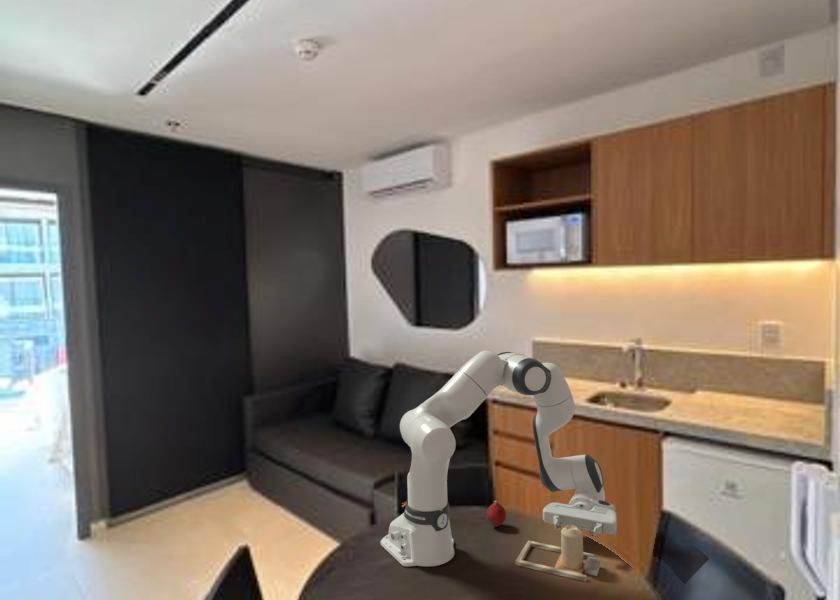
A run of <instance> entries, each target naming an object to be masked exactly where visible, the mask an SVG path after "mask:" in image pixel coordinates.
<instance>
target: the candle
mask: <svg viewBox="0 0 840 600" xmlns="http://www.w3.org/2000/svg"><path fill="white" fill-rule="evenodd" d="M560 530H561V531H560V542H561V543H560V545H561V546H560V547H561V553H560V555H561V554H562V565H563V566H564V567H566V568H568V569H572V570H578V569H581V568H582V567H583V559H584V558H583V552H584V536H583V535H584V533H583V532H582V531H581V530H582V529H578V528H577V527H576V526H574V525H567V526H564V528H562V529H560Z"/></svg>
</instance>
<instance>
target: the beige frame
mask: <svg viewBox="0 0 840 600" xmlns="http://www.w3.org/2000/svg"><path fill="white" fill-rule="evenodd" d="M531 548H535V549H541V550H546V551H551V552H555V553H559V554H560V555H559V556H558V559H557V561H556V563H555V565H554V566H553V567H552V566H548V565H544V564H540V563H535V562H531V561H527V560H524V559H525V558H526V557H527V555H528V553H529V551H530V549H531ZM514 565H515V566H517V567H518V566H519V567H523V568H527V569H531V570H536V571H540V572H544V573H548V574H553V575H556V576H560V577H565V578H568V579H573V580H577V581H580V582H581V581H582V582H587V581H588V575H590V576H595V577H597V576H598V573H599V570H600V568H601V559H600V558H597V557H595V554H594V553H589V552H585V551H583V567H582V568H581V569H578V570H572V569H568V568H566V567H564V566H563V565H562V554H561V546H557V545H553V544H547V543H544V542H543V543H542V542H539V541H532V540H529V539H528V540H527V542H526V543H525V545H524V547H523V548H522V550H521V551H520V552H519V555H518V556H517V558H516V559H515V561H514ZM583 572H584V574H583ZM586 574H587V575H586Z"/></svg>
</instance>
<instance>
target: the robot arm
mask: <svg viewBox="0 0 840 600" xmlns="http://www.w3.org/2000/svg"><path fill="white" fill-rule="evenodd" d="M499 386H502V387H504V388H506V389H507V390H509V391H512V392H514V393H517V394H520V395H524V396H533V399H534V401H535V404H536V410H537V411H536V414H535V415H534V416H533V418H532V433H533V439H534V444H535V450H536V456H537V461H538V467H539V468H538V469H539V471H538V472H539V479H540V483H541V484H542V486H543V487H544V488H545V489H547V490H548V491H550V492H552V493H556V492H561V491H564V490H565V491H566V490H575V492H574V494H573V495H572V497H571V498H570V501H569V502H568V504H567V503H561V502H555V501H554V502H550V503H547V505H545V507H544V508H543V509H542V521H543V522H544V523H547V524H551V525H553V526H554V527H553V528H554V530H559V531H560V530H562V529H561V528H562V526H563V527H566V526H567V525H574V526H576V527H577V528H578V529H579V530H582V531H583V530H584V531H587V532H589V536H590V537H595V538H596V536H597V535H601V534H603V535H609V536H615V535H617V534H618V533H617V532H618V521H617V519H618V518H617V512H616V509H615V505H614V504H613V503H610V502H607V501H605V498H606V495H605V490H604V475H603V472H602V469H601V466H600V464H599V462H598V461H597V460H596V459H595V458H594V457H592V456H591V455H590V454H580V455H579V454H577V455H572V456H564V457H554V456H553V455H552V449H551V445H550V438H549V436H550V435H551V434H553V433H554V432H556V431H557V430H559V429H561V428H563V427H564V426H565V425H567V424H568V423H569V422H570V421H571V420H572V418H573V416H574V414H575V410H576V404H575V401H574V397H573V394H572V391H571V388H570V386H569V384H568V382H567V380H566V377H565V376H564V374H563V372H562V370H560V368H559V366H557V365H556V364H555V363H552V362H540V361H539V360H537V359H535V358H533V357H532V358H531V357H528V356H526V355H524V354H522V353H516V352H515V353H514V352H510V351H503V352H499V353H498V354H496V353H495V352H493V351H490V350H482V351H479V352H478V353H477V354H475V355H474V356H472V357H471V358H470V359H468V360H467V362H465V363H464V364H463V365H462V366H461V367H460V368H459V370H458V371H456V372H455V374H453V376H452V377H451V378H450V379H449V380H448V381H447V382H446V383H445V384H444V385H443V386H442V387H441V388H440V389H439V390H438V391H437V392H435V393H434V394H433V395H432V396H431V397H429V398H428V399H426V400H425V401H424V402H422V403H421V404H419V405H418V406H417V407H415V408H413V409H411V410H408V411H407V412H406V413H404V415H403V416H402V417H401V419H400V422H399V431H400V434H401V438H402V439H403V441H404V442H405V443H406V445H407V446H408V447H409V448H410V451H411V462H410V464H411V465H410V469H409V472H408V473H407V477H406V478H407V479H406V480H407V482H406V483H407V484H406V485H407V500H406V501H404V502H402V503H401V504H402V505H401V507H402V508H403V507H404V512H403V513H402V514H401V515H399V516H397V517H396V518H394V519H393V520H392V521H391V522H390V524H389V527H388V534H386V535H385V536H384V537H382V539H381V540H380V544H379V545H380V546H381V547H382V548H384V549H385V550H386V551H387V552H388V553H389V554H390V555H391V556H392V557H393V558H394V559H395V560H396V561H397V562H398V563H399V564H401V566H403V567H416V566H418V567H437V566H440V565H443V564H446V563H448V562H449V561H451V560H452V559H453V558H454V556H455V553H456V552H455V548H454V544H455V542H454V538H453V537H452V529H451V521H450V503H449V501H448V481H447V480H448V470H449V465H450V460H451V458H452V457H453V454H454V453H455V450H456V445H457V442H456V438H455V436H454V433H453V432H452V430H451V428H452V427H453V426H454V425H456V424H458V423H459V422H461V421H462V420H463V421H464V420H467V419H468V418H469V417H471V415H472V414H473V413H474V412H475V411H476V410H477V409H478V408H479V407H480V405H481V404H482V403H483V402H484V401H485V400H486V399H487V398H488V397H489V396H490V394H491V393H492V392H493V391H494V390H495V389H496V388H498V387H499Z"/></svg>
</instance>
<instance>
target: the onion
mask: <svg viewBox="0 0 840 600" xmlns="http://www.w3.org/2000/svg"><path fill="white" fill-rule="evenodd" d="M486 517H487V520H488V521H489V522H490V523H491V524H492V525H493V526H494V527H496V528H497V527H499V526H501V525H503V523H504V522H505V521H506V519H507V513H506V509H505V508H504V506H502V504H501V503H499V502H498V501H497V500H494V501H493V502H492V504H490V506H488V508H487V510H486Z"/></svg>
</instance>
